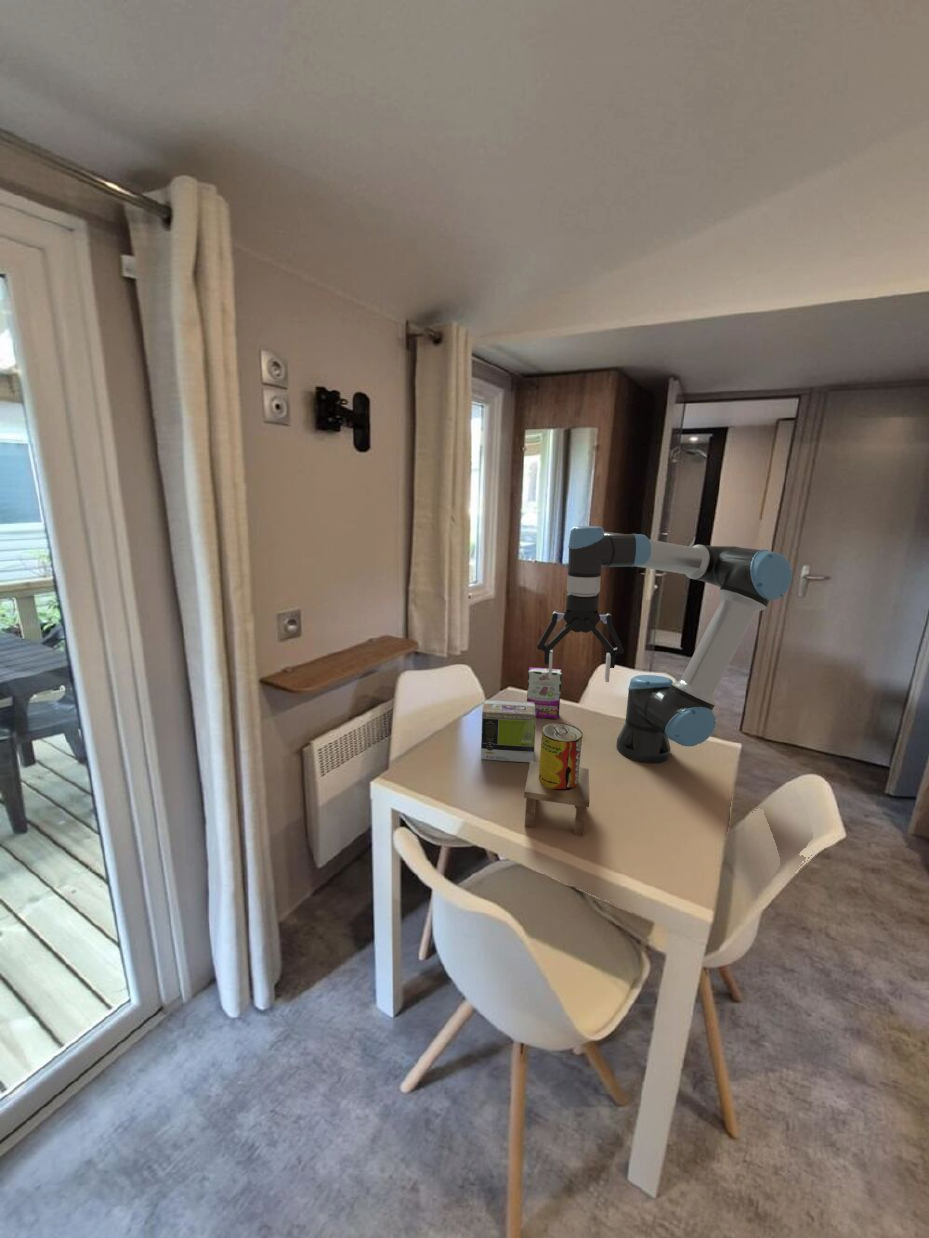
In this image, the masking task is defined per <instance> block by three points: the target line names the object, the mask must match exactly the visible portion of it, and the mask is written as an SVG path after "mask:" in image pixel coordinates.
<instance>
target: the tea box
mask: <svg viewBox="0 0 929 1238" xmlns="http://www.w3.org/2000/svg"><path fill="white" fill-rule="evenodd" d="M536 720H537V718H536V713H535V702H527V701H519V700H500V699H499V700H498V699H484V701H483V707H482V711H481V741H480V742H481V743H480V744H481V747H480V750H481V751H480V758H481V760H487V761H488V760H489V761H501V762H502V761H504V762H519V763H528V764H530V761H534V759H535V746H536V745H535V743H536V742H535V741H536V727H537V725H536V723H537V722H536Z"/></svg>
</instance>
